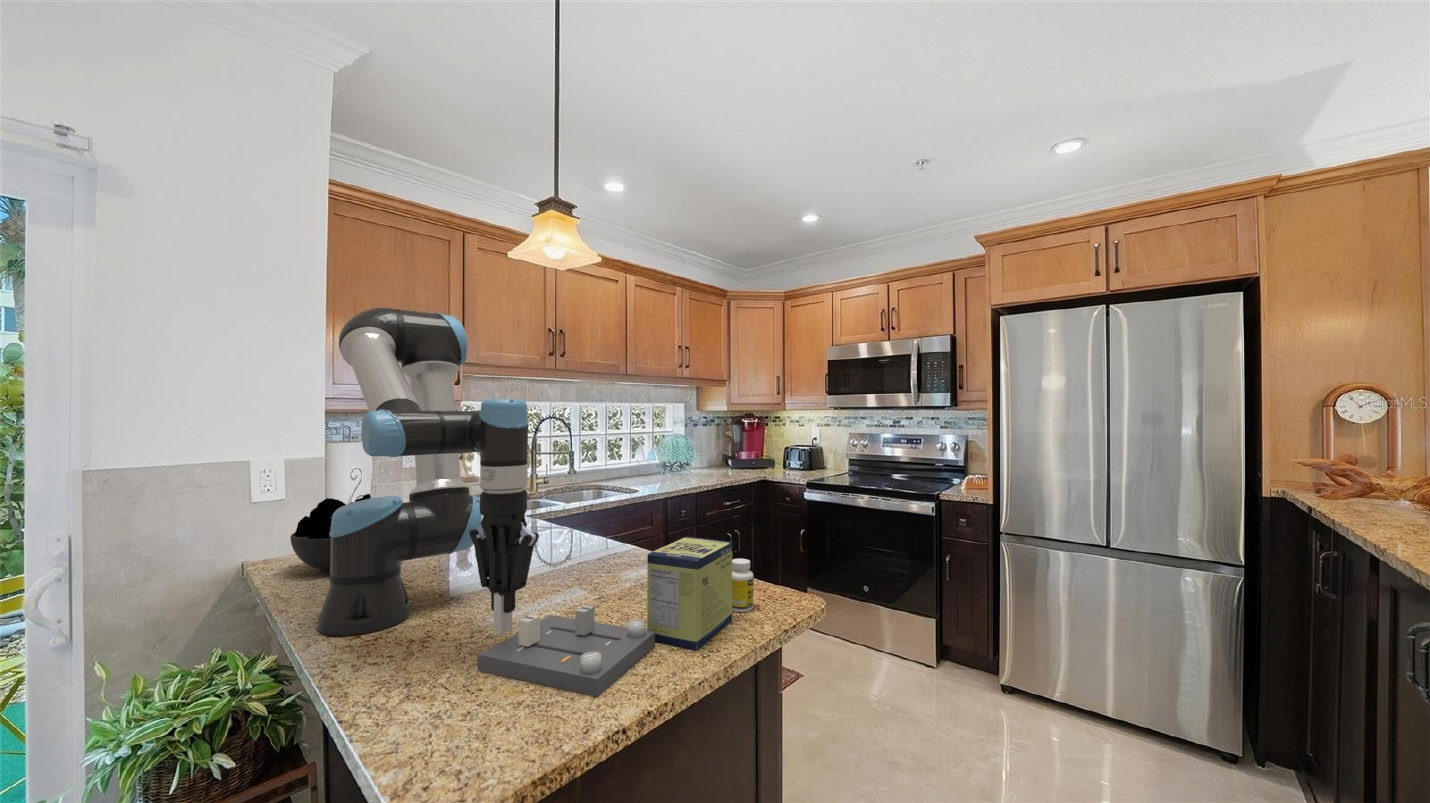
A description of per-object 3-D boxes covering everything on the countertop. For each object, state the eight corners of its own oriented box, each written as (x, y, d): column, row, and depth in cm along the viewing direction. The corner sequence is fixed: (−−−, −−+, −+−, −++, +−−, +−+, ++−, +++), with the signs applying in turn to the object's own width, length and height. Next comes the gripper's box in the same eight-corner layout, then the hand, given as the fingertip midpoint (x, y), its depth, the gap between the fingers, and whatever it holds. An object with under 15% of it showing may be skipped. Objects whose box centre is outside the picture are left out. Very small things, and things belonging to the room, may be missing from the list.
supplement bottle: (751, 613, 110) (751, 565, 110) (725, 611, 111) (725, 563, 111) (754, 604, 115) (754, 558, 116) (729, 602, 116) (729, 556, 117)
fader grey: (575, 633, 93) (575, 609, 93) (584, 627, 96) (584, 604, 96) (585, 635, 92) (585, 611, 92) (594, 629, 95) (594, 605, 95)
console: (477, 670, 86) (477, 641, 86) (550, 628, 103) (550, 603, 103) (597, 696, 78) (597, 664, 78) (655, 646, 95) (655, 619, 95)
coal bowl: (282, 585, 127) (284, 505, 128) (296, 565, 145) (297, 494, 145) (382, 573, 137) (383, 498, 138) (384, 555, 155) (385, 489, 155)
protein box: (733, 620, 107) (733, 540, 107) (697, 651, 93) (697, 560, 93) (686, 611, 111) (686, 535, 112) (645, 640, 97) (645, 553, 97)
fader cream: (518, 644, 89) (518, 619, 89) (530, 638, 91) (530, 613, 91) (528, 646, 88) (528, 621, 88) (539, 639, 91) (540, 615, 91)
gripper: (456, 491, 91) (455, 633, 90) (519, 495, 86) (518, 645, 86) (490, 485, 98) (489, 617, 97) (550, 489, 93) (549, 627, 93)
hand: (503, 630), depth 92 cm, fingers closed
